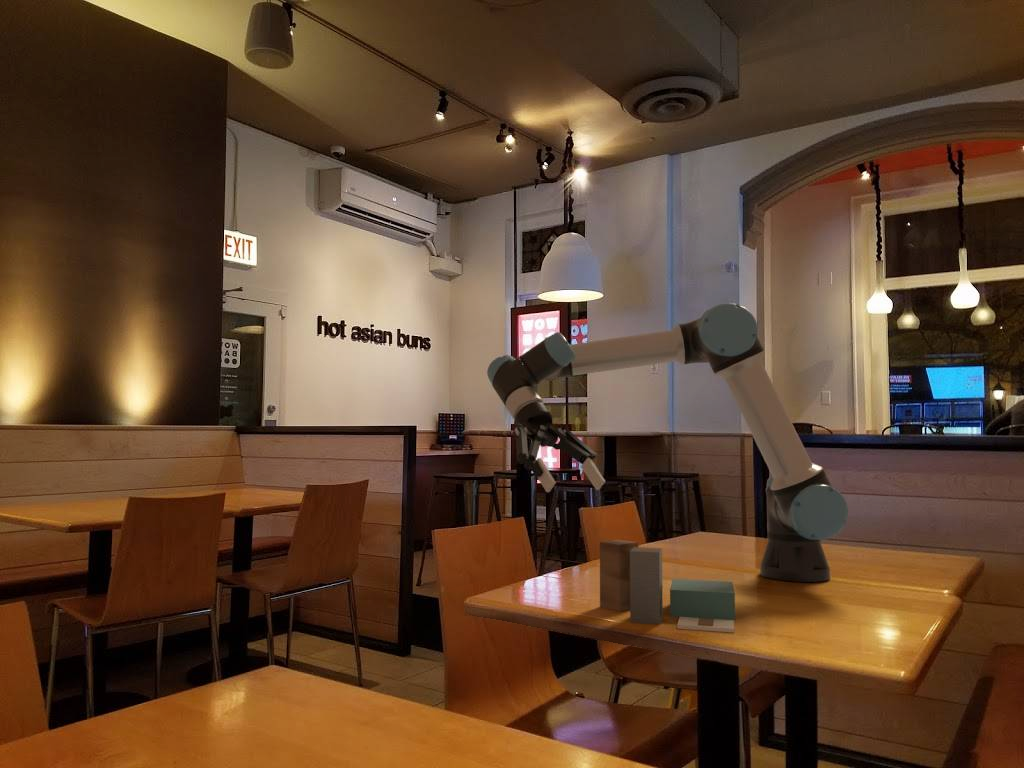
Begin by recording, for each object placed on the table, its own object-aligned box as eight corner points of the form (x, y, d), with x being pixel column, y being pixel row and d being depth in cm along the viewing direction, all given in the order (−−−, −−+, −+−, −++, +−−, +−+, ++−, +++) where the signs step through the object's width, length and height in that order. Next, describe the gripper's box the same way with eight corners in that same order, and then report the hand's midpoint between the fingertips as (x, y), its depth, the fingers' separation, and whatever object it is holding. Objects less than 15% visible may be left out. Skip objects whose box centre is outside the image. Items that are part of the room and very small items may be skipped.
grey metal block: (662, 617, 132) (662, 548, 133) (660, 624, 127) (659, 552, 128) (634, 615, 133) (633, 547, 134) (630, 622, 128) (629, 551, 129)
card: (734, 624, 127) (733, 619, 127) (734, 632, 122) (734, 627, 122) (679, 620, 130) (679, 615, 130) (677, 628, 124) (677, 623, 124)
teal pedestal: (732, 608, 140) (732, 581, 141) (735, 622, 130) (734, 593, 130) (672, 605, 143) (672, 578, 144) (670, 618, 133) (669, 589, 133)
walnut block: (618, 603, 143) (618, 539, 144) (638, 607, 139) (637, 542, 140) (600, 606, 140) (599, 541, 141) (619, 611, 136) (619, 544, 137)
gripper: (563, 426, 172) (610, 496, 159) (475, 423, 157) (519, 501, 144) (579, 402, 168) (629, 472, 156) (491, 397, 153) (538, 474, 140)
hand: (576, 486), depth 150 cm, fingers open, 13 cm apart
